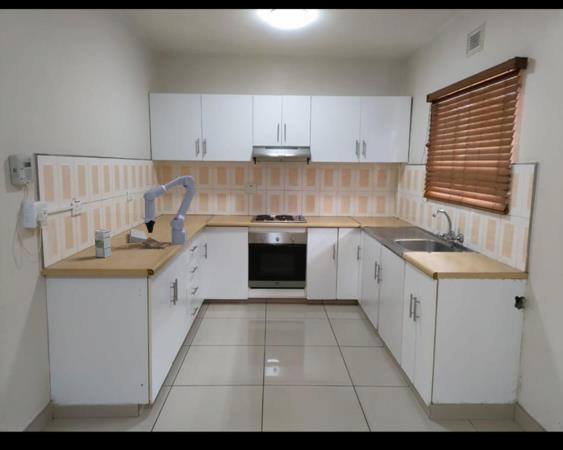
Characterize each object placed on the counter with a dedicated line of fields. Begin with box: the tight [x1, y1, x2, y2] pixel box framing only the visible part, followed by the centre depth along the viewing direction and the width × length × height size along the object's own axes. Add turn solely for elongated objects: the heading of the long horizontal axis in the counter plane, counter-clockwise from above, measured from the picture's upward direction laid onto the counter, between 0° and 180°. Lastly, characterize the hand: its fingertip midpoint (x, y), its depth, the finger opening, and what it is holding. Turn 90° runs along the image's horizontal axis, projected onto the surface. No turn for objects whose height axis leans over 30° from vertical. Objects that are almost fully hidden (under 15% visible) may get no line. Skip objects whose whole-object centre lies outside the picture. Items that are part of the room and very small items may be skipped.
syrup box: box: [93, 229, 112, 259], centre depth 213 cm, size 6×6×14 cm
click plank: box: [141, 237, 160, 250], centre depth 241 cm, size 7×14×1 cm, turn 2°
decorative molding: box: [129, 228, 148, 244], centre depth 270 cm, size 34×5×10 cm
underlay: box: [140, 244, 172, 250], centre depth 241 cm, size 14×16×1 cm
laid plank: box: [153, 241, 171, 250], centre depth 241 cm, size 6×14×1 cm, turn 2°
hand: (150, 232), depth 243 cm, fingers closed
